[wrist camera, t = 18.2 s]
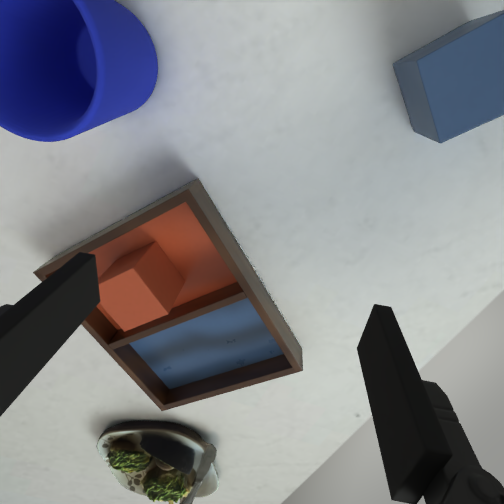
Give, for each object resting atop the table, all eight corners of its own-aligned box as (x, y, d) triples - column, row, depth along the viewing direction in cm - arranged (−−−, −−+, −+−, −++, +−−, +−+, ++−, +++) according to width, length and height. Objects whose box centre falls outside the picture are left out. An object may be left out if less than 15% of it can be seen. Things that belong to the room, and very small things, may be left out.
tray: (302, 349, 35) (303, 370, 33) (170, 389, 41) (161, 411, 38) (198, 178, 28) (188, 188, 25) (53, 257, 33) (32, 272, 31)
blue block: (487, 96, 23) (534, 101, 18) (413, 131, 24) (440, 144, 20) (471, 20, 21) (518, 4, 16) (392, 63, 22) (416, 60, 18)
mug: (60, -102, 20) (-117, -238, 12) (194, 68, 24) (137, 63, 15) (-2, 6, 23) (-179, -37, 15) (125, 142, 27) (45, 173, 18)
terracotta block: (155, 240, 30) (132, 268, 26) (185, 281, 32) (168, 314, 28) (115, 260, 32) (87, 289, 27) (146, 298, 34) (124, 332, 29)
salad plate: (238, 499, 52) (233, 535, 48) (133, 494, 55) (120, 527, 50) (214, 419, 43) (205, 455, 39) (91, 418, 46) (71, 451, 42)
